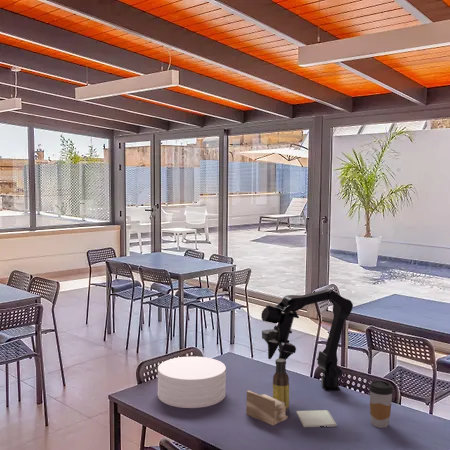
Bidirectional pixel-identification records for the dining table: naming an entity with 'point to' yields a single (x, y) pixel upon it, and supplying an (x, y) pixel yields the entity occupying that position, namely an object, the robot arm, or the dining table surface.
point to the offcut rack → (265, 408)
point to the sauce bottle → (281, 383)
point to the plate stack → (191, 382)
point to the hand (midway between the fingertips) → (274, 362)
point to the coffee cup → (380, 403)
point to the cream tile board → (316, 418)
